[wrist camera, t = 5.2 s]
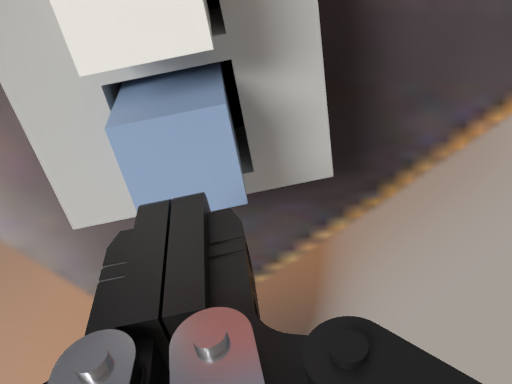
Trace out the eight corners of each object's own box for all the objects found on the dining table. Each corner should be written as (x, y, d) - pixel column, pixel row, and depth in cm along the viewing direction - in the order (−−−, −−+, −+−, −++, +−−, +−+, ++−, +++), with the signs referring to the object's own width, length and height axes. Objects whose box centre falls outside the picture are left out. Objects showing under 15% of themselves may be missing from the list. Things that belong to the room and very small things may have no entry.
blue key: (219, 57, 16) (226, 103, 13) (237, 141, 18) (247, 203, 14) (125, 76, 16) (104, 128, 13) (152, 158, 18) (142, 225, 14)
